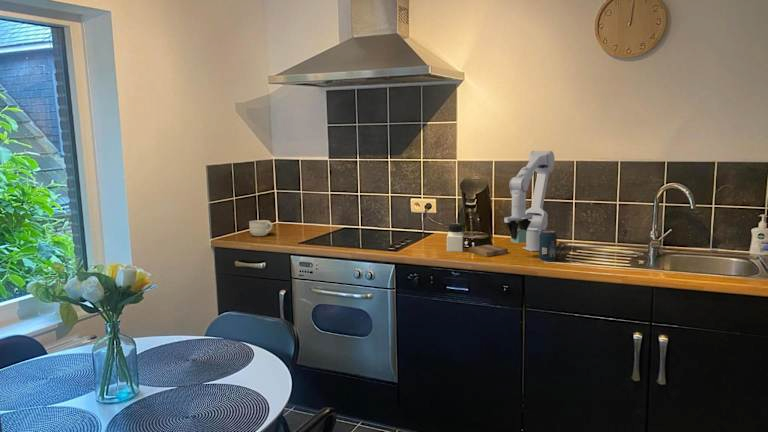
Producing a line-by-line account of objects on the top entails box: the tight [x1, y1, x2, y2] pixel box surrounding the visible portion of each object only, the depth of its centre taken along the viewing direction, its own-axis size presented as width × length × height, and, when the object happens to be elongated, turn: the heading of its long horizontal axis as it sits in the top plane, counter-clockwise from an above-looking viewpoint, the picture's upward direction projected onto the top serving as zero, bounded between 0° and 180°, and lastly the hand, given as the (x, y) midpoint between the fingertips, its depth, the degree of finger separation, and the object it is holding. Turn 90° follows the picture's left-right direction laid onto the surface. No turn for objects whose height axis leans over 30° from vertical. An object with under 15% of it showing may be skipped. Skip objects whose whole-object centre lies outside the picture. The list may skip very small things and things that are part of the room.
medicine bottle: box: [446, 223, 465, 253], centre depth 269 cm, size 7×7×12 cm
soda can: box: [538, 229, 558, 262], centre depth 247 cm, size 7×7×12 cm
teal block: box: [510, 228, 526, 244], centre depth 253 cm, size 4×4×5 cm
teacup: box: [248, 219, 274, 237], centre depth 316 cm, size 14×11×8 cm
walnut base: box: [468, 244, 508, 258], centre depth 264 cm, size 12×12×2 cm
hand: (518, 237), depth 254 cm, fingers closed on teal block, 4 cm apart
